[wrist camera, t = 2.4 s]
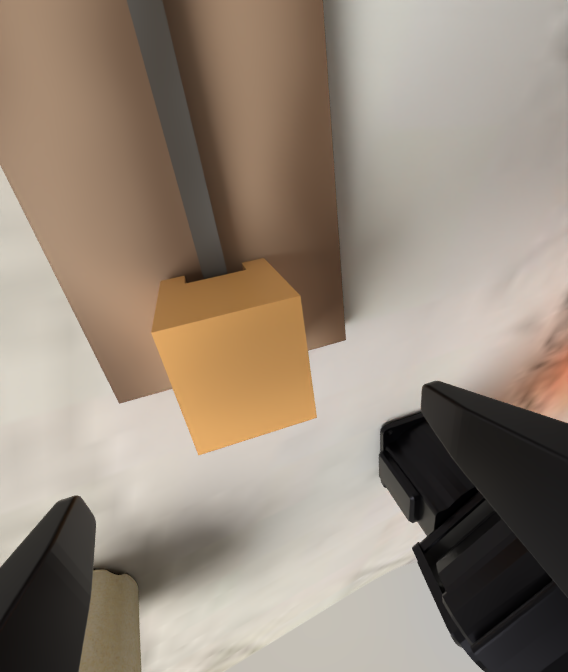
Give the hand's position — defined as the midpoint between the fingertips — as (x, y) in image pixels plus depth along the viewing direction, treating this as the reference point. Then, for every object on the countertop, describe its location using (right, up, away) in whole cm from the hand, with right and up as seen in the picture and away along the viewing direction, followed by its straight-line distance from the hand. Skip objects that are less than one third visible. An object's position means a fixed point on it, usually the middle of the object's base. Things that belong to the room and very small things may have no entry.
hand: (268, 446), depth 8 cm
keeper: (-2, +4, +7) cm, 8 cm away
